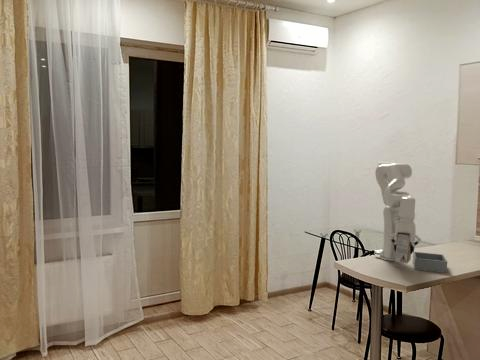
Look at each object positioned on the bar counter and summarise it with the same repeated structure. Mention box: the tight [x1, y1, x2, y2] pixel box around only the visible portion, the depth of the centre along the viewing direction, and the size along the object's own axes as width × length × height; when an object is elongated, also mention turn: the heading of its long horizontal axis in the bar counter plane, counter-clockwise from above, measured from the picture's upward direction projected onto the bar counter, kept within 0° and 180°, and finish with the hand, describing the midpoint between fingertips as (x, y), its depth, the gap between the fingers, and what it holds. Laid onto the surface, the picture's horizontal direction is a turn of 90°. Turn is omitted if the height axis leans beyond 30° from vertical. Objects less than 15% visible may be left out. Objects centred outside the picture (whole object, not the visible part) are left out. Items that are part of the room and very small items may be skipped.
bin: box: [412, 251, 448, 274], centre depth 245 cm, size 16×16×6 cm
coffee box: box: [394, 233, 412, 265], centre depth 238 cm, size 9×6×16 cm
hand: (403, 252), depth 238 cm, fingers closed on coffee box, 7 cm apart
